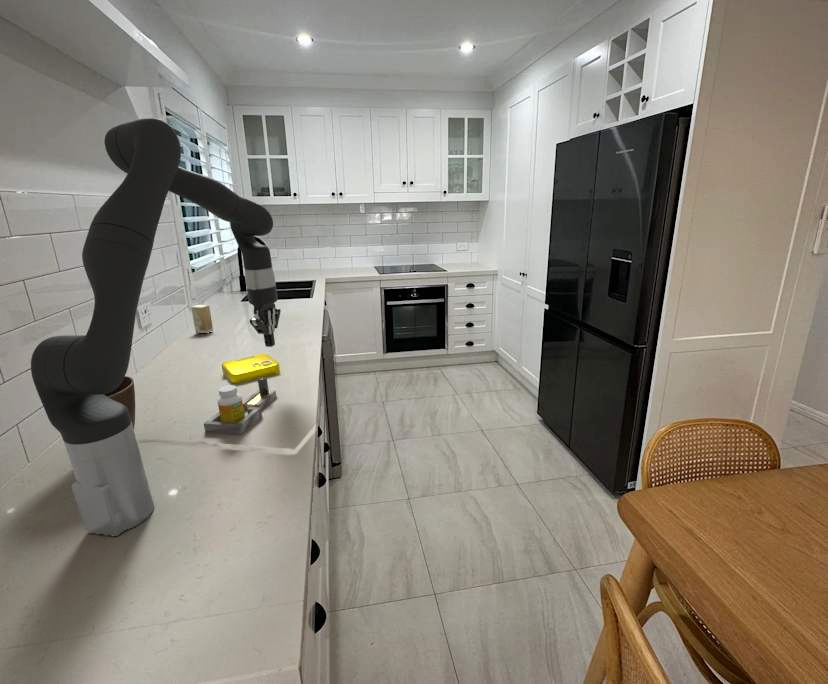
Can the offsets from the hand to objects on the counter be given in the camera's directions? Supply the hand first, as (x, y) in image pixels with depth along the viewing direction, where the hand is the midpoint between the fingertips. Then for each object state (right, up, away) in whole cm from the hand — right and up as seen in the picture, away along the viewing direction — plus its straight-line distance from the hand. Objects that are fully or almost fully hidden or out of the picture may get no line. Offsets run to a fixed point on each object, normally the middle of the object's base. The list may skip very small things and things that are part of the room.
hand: (270, 345), depth 120 cm
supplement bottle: (-4, -19, -16) cm, 25 cm away
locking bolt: (-1, -15, -5) cm, 16 cm away
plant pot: (-27, -24, -25) cm, 44 cm away
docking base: (-2, -18, -10) cm, 21 cm away
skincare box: (-52, +5, +69) cm, 87 cm away
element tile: (-12, -10, +19) cm, 25 cm away
